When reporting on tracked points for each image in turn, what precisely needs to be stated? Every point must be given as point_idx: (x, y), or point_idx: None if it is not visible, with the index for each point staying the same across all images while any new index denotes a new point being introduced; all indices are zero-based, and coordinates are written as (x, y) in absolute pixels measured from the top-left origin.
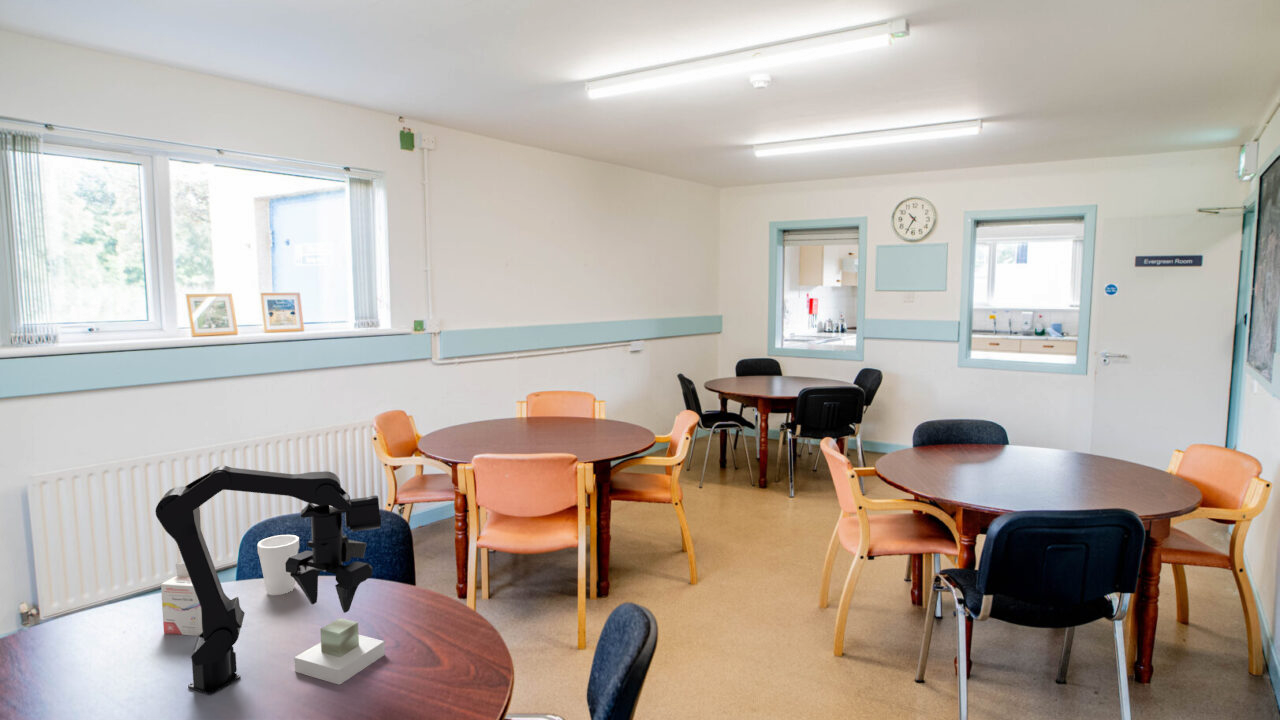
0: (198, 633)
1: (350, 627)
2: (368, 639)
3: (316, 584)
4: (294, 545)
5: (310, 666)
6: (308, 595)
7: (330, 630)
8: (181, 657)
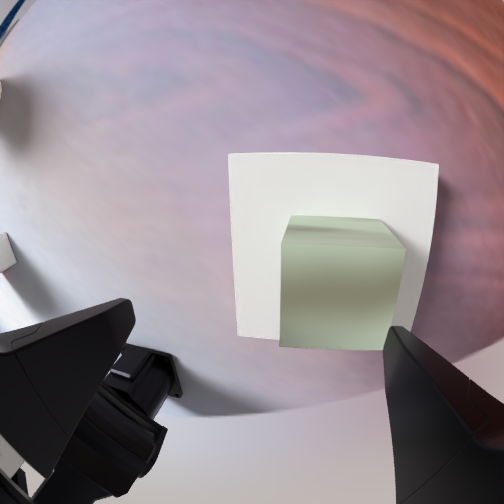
0: (14, 262)
1: (396, 293)
2: (380, 170)
3: (54, 347)
4: None
5: None
6: (107, 373)
7: (332, 344)
8: (53, 316)
